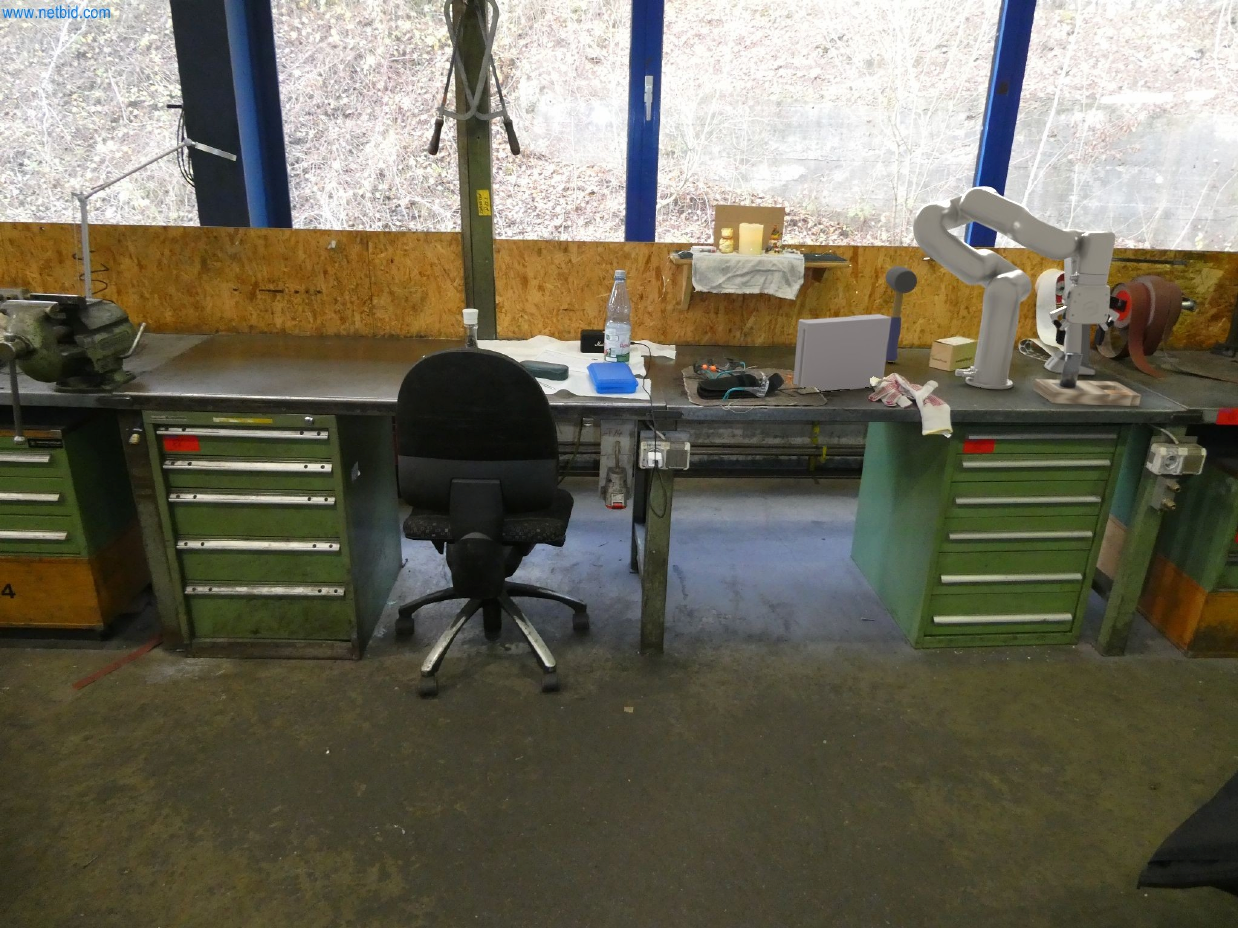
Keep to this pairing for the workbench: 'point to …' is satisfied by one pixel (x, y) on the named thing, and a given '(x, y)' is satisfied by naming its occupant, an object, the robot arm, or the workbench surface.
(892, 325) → the rubber mallet
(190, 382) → the workbench surface
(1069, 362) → the peg
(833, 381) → the game console
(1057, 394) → the fixture board
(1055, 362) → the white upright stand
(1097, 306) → the robot arm
